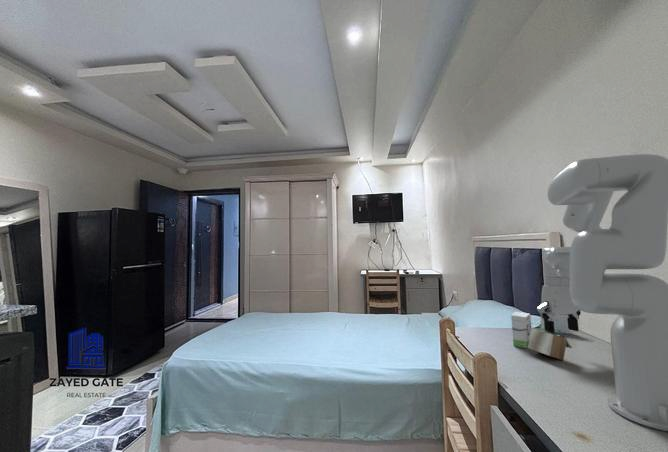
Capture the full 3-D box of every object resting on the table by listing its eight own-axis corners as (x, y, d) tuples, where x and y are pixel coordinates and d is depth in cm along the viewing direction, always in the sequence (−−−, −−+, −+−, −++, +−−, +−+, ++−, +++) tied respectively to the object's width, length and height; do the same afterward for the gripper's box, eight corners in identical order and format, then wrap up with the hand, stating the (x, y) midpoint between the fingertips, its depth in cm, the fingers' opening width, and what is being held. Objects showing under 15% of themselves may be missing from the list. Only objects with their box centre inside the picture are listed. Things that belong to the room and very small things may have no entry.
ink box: (528, 349, 101) (525, 317, 102) (512, 345, 105) (510, 314, 106) (532, 343, 107) (530, 313, 108) (518, 340, 111) (516, 311, 112)
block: (567, 339, 92) (551, 334, 91) (563, 360, 91) (547, 355, 90) (546, 333, 99) (531, 328, 98) (542, 352, 98) (527, 347, 97)
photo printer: (571, 332, 119) (568, 304, 120) (568, 334, 117) (565, 305, 118) (543, 327, 128) (541, 300, 129) (539, 329, 125) (537, 302, 126)
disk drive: (568, 348, 103) (560, 336, 116) (568, 340, 104) (559, 329, 116) (535, 343, 109) (530, 332, 121) (534, 336, 109) (530, 326, 122)
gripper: (567, 279, 102) (571, 326, 101) (527, 281, 99) (530, 329, 98) (589, 282, 95) (593, 332, 93) (546, 284, 92) (550, 335, 91)
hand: (561, 330), depth 96 cm, fingers open, 9 cm apart
